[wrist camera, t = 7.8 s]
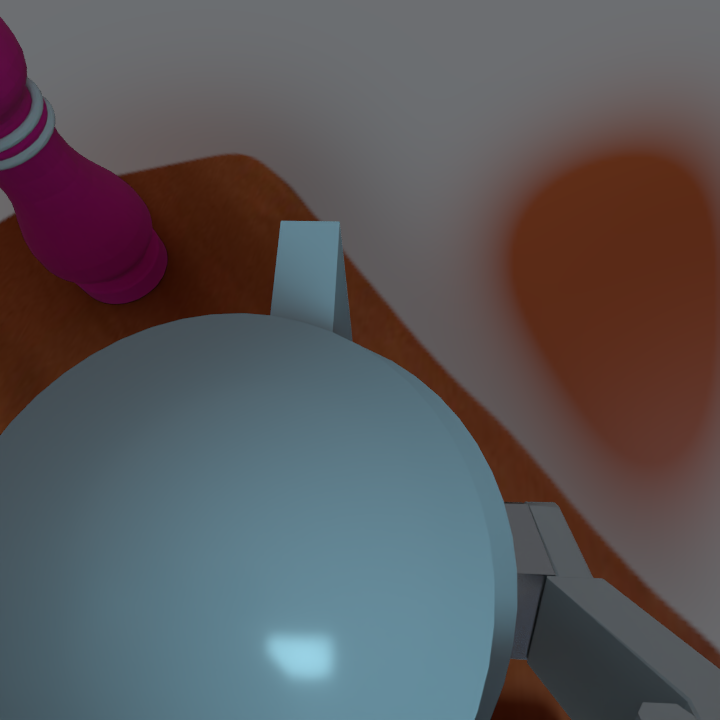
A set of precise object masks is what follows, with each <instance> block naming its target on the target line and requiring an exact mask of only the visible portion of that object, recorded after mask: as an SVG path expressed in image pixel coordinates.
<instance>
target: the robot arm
mask: <svg viewBox="0 0 720 720" xmlns="http://www.w3.org/2000/svg"><path fill="white" fill-rule="evenodd" d="M504 505H505V509H506V513H507V517H508V520H509V524H510V528H511V532H512V536H513V544H514V552H515V560H516V567H517V615H516V624H515V633H514V642H513V648H512V652H511V656H510V658H511V659H523V660H527V663H528V665H529V666H530V667H531V668H532V670H533V671H534V672H535V674H536V675H537V676H538V677H539V679H540V680H541V681H542V682H543V684H544V685H545V686H546V688H547V689H548V690H549V691H550V693H551V694H552V695H553V696H554V698H555V699H556V700H557V702H558V703H559V704H560V705H561V707H562V708H563V709H564V710H565V712H566V713H567V714H568V716H569V717H570V718H571V719H572V720H720V669H718V668H717V667H716V666H715V665H713V664H712V663H711V662H709V661H708V660H707V659H706V658H704V657H703V656H702V655H700V654H699V653H698V652H697V651H695V650H694V649H693V648H691V647H690V646H689V645H688V644H686V643H685V642H684V641H682V640H681V639H680V638H679V637H677V636H676V635H675V634H673V633H672V632H671V631H670V630H668V629H667V628H666V627H664V626H663V625H662V624H660V623H659V622H658V621H657V620H655V619H654V618H653V617H651V616H650V615H649V614H648V613H646V612H645V611H644V610H642V609H641V608H640V607H639V606H637V605H636V604H635V603H633V602H632V601H631V600H630V599H628V598H627V597H626V596H624V595H623V594H622V593H621V592H619V591H618V590H617V589H615V588H614V587H613V586H612V585H610V584H609V583H608V582H606V581H605V580H604V579H600V578H593V577H592V575H591V573H590V570H589V568H588V566H587V564H586V562H585V560H584V558H583V556H582V554H581V552H580V550H579V548H578V545H577V543H576V541H575V539H574V537H573V535H572V533H571V531H570V529H569V527H568V525H567V523H566V521H565V518H564V516H563V514H562V512H561V510H560V508H559V506H558V505H556V504H555V503H554V502H525V503H521V502H504Z"/></svg>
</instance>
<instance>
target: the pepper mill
mask: <svg viewBox="0 0 720 720" xmlns="http://www.w3.org/2000/svg"><path fill="white" fill-rule="evenodd" d="M54 126H55V114H54V110H53V108H52V106H51V104H50V103H49V101H48V100H47V99H46V98H44V97H43V96H42V94H41V91H40V90H39V88H38V87H37V85H36V84H35V83H34V82H33V81H32V80H30V79H29V78H27V67H26V63H25V59H24V55H23V51H22V48H21V47H20V45H19V43H18V41H17V39H16V38H15V36H14V34H13V33H12V32H11V30H10V29H9V27H8V26H7V25H6V23H5V22H4V21H3V19H2V18H1V17H0V188H1V189H2V190H3V191H4V192H5V193H6V195H7V196H8V198H9V199H10V201H11V202H12V205H13V207H14V210H15V213H16V217H17V221H18V224H19V226H20V229H21V232H22V235H23V237H24V240H25V242H26V244H27V245H28V247H29V249H30V250H31V252H32V254H33V255H34V256H35V257H36V258H37V259H38V260H39V261H40V262H41V263H42V264H43V265H44V266H45V267H46V269H47V270H48V271H50V272H51V273H53V274H54V275H56V276H58V277H60V278H62V279H64V280H66V281H70V282H75V283H76V284H77V285H78V286H79V287H81V288H82V289H83V290H84V291H85V292H86V293H87V294H89V295H90V296H91V297H93V298H94V299H96V300H98V301H101V302H104V303H109V304H123V303H128V302H131V301H134V300H137V299H139V298H141V297H143V296H145V295H146V294H147V293H149V292H150V291H151V290H152V289H154V288H155V287H156V286H157V284H158V283H159V281H160V280H161V279H162V277H163V276H164V273H165V269H166V266H167V251H166V248H165V246H164V244H163V242H162V241H161V239H160V238H159V236H158V235H157V233H156V232H155V231H154V229H153V228H152V220H151V216H150V213H149V211H148V208H147V206H146V204H145V203H144V202H143V200H142V199H141V198H140V196H139V195H138V194H137V193H136V192H135V191H134V189H133V188H132V187H131V186H129V185H128V184H127V183H126V182H125V181H123V180H122V179H121V178H119V177H118V176H117V175H115V174H114V173H112V172H111V171H109V170H107V169H105V168H103V167H101V166H99V165H97V164H95V163H93V162H92V161H90V160H88V159H86V158H85V157H83V156H82V155H80V154H79V153H78V152H76V151H75V150H74V149H73V148H71V147H70V146H69V145H68V144H67V143H66V142H65V140H64V139H63V138H62V137H61V136H60V135H59V134H58V132H57V130H56V128H55V127H54Z"/></svg>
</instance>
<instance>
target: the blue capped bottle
mask: <svg viewBox="0 0 720 720" xmlns="http://www.w3.org/2000/svg"><path fill="white" fill-rule="evenodd" d="M516 615H517V567H516V560H515V552H514V544H513V536H512V532H511V528H510V524H509V520H508V517H507V513H506V509H505V505H504V501H503V499H502V496H501V494H500V491H499V489H498V486H497V483H496V481H495V478H494V476H493V473H492V471H491V469H490V467H489V465H488V463H487V462H486V460H485V458H484V456H483V454H482V452H481V450H480V449H479V447H478V445H477V443H476V442H475V440H474V439H473V437H472V436H471V435H470V433H469V432H468V430H467V429H466V428H465V426H464V425H463V423H462V422H461V421H460V419H459V418H458V417H457V416H456V415H455V413H454V412H453V411H452V410H451V409H450V408H449V407H448V406H447V405H446V404H445V402H444V401H443V400H442V399H441V398H440V397H439V396H438V395H437V394H436V393H434V392H433V391H432V390H431V389H430V388H429V387H427V386H426V385H425V384H424V383H423V382H422V381H420V380H419V379H418V378H417V377H415V376H414V375H412V374H411V373H409V372H408V371H406V370H405V369H403V368H402V367H400V366H399V365H397V364H396V363H394V362H393V361H390V360H388V359H386V358H384V357H382V356H380V355H378V354H376V353H374V352H372V351H370V350H368V349H365V348H363V347H361V346H360V345H358V344H356V343H354V342H352V333H351V323H350V314H349V305H348V295H347V286H346V276H345V267H344V258H343V248H342V239H341V230H340V222H325V221H281V225H280V234H279V243H278V251H277V260H276V269H275V278H274V287H273V296H272V305H271V314H270V315H259V314H247V313H235V314H211V315H205V316H198V317H192V318H185V319H180V320H176V321H173V322H169V323H166V324H162V325H158V326H155V327H151V328H148V329H146V330H143V331H141V332H138V333H136V334H133V335H131V336H128V337H126V338H123V339H121V340H119V341H117V342H115V343H113V344H111V345H109V346H108V347H106V348H104V349H102V350H100V351H98V352H96V353H94V354H92V355H91V356H89V357H88V358H86V359H85V360H83V361H82V362H80V363H79V364H77V365H76V366H74V367H73V368H71V369H70V370H68V371H67V372H65V373H64V374H63V375H61V376H60V377H59V378H58V379H57V380H55V381H54V382H53V383H52V384H51V385H49V386H48V387H47V388H46V389H45V390H43V391H42V392H41V393H40V394H39V395H37V396H36V397H35V398H34V399H33V400H32V401H31V402H30V403H29V404H28V405H27V406H26V407H25V408H24V409H23V410H22V411H21V413H20V414H19V415H18V416H17V417H16V418H15V419H14V420H13V421H12V422H11V423H10V424H9V425H8V427H7V428H6V429H5V430H4V432H3V433H2V434H1V435H0V720H490V719H491V717H492V714H493V711H494V709H495V706H496V703H497V701H498V698H499V695H500V693H501V690H502V687H503V685H504V681H505V677H506V673H507V669H508V665H509V660H510V656H511V652H512V648H513V642H514V633H515V624H516Z"/></svg>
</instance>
